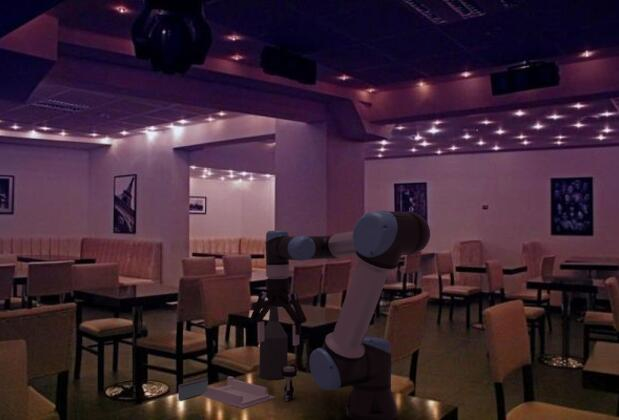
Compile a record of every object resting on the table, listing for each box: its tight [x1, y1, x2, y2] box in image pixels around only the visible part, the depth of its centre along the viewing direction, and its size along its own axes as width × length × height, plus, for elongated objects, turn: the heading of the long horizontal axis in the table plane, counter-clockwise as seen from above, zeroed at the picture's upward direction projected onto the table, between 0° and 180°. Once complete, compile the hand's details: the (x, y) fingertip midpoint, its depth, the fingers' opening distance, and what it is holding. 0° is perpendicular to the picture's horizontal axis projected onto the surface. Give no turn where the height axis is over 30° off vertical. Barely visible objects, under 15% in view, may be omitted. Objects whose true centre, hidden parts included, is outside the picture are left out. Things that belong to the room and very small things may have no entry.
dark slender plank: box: [177, 377, 209, 401], centre depth 184 cm, size 1×11×4 cm, turn 140°
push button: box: [281, 365, 298, 402], centre depth 183 cm, size 7×5×10 cm
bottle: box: [259, 306, 289, 381], centre depth 210 cm, size 10×10×30 cm
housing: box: [199, 375, 276, 410], centre depth 186 cm, size 22×14×3 cm
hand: (278, 343), depth 184 cm, fingers open, 13 cm apart
